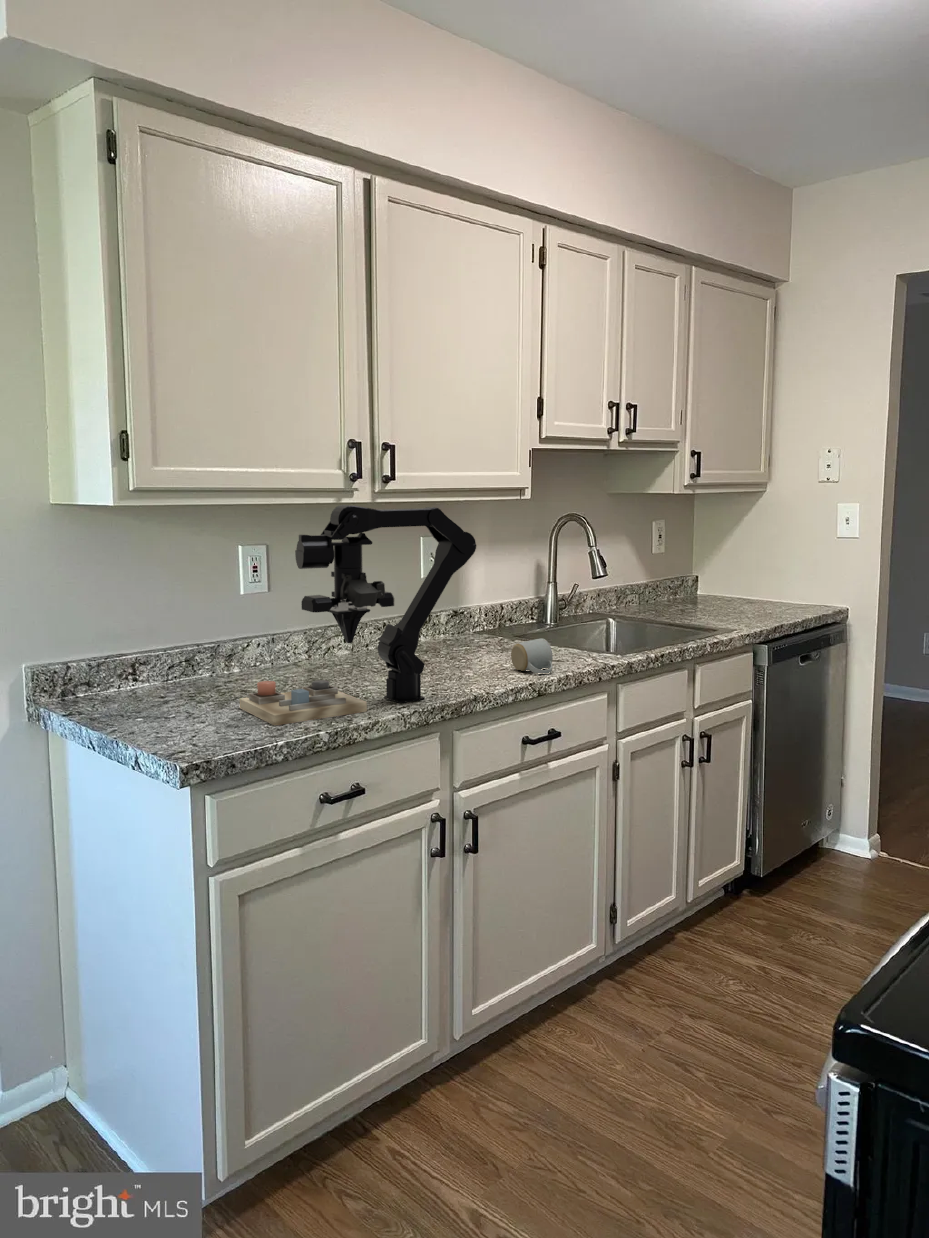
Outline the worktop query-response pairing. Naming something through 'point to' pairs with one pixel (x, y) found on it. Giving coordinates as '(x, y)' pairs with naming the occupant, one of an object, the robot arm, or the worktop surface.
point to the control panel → (302, 706)
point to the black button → (320, 684)
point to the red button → (266, 688)
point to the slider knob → (299, 696)
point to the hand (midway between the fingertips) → (349, 643)
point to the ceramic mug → (532, 656)
